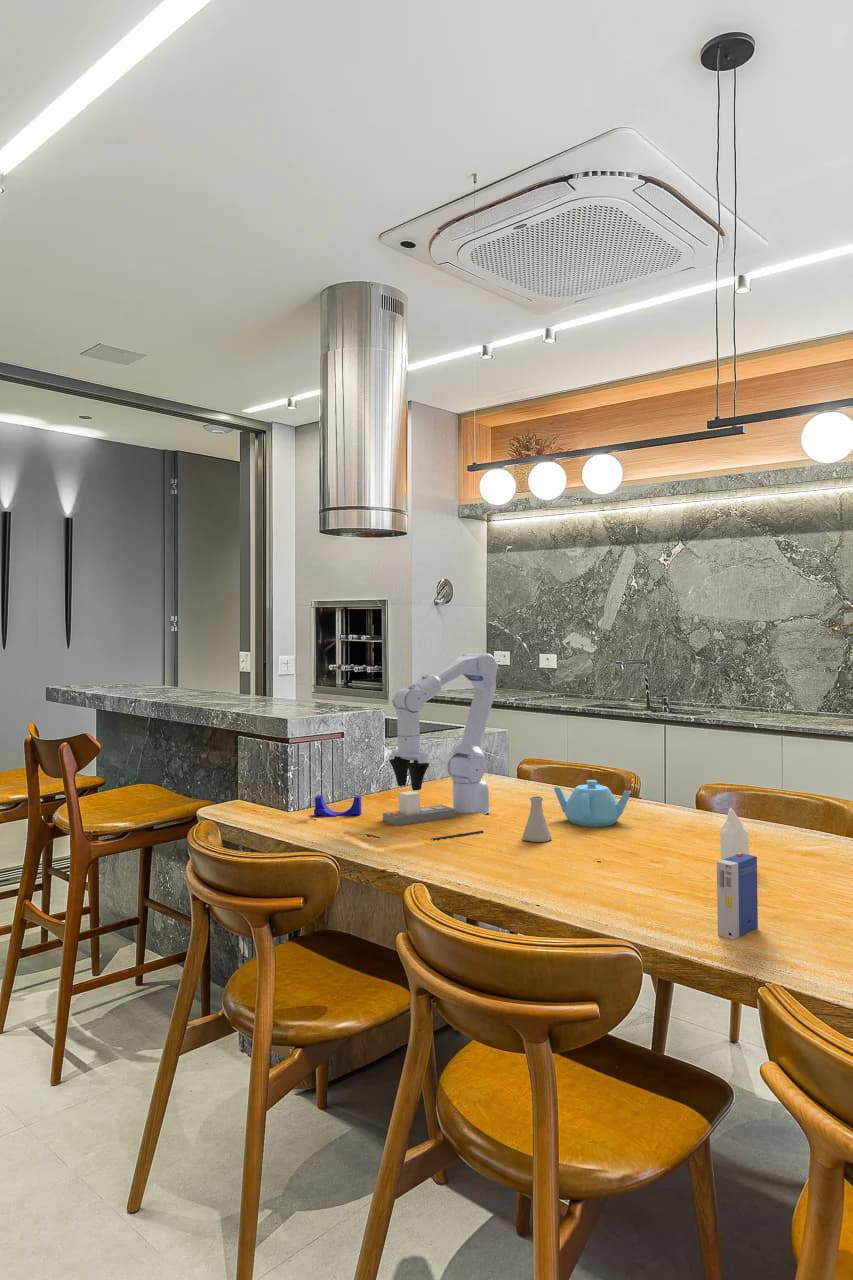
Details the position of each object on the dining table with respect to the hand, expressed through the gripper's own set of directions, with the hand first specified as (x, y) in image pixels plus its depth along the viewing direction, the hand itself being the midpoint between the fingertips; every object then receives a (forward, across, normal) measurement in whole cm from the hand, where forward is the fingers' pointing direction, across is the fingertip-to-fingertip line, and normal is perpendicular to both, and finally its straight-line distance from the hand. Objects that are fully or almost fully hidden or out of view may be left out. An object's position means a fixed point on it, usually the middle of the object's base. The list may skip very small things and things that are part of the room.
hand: (409, 787), depth 211 cm
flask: (+10, +31, +17) cm, 37 cm away
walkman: (+10, +97, +5) cm, 98 cm away
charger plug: (+8, 0, 0) cm, 8 cm away
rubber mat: (+9, +14, +3) cm, 17 cm away
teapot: (+10, +24, +41) cm, 48 cm away
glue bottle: (+10, +72, +36) cm, 81 cm away
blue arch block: (+10, -16, -13) cm, 23 cm away
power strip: (+9, 0, +3) cm, 10 cm away
